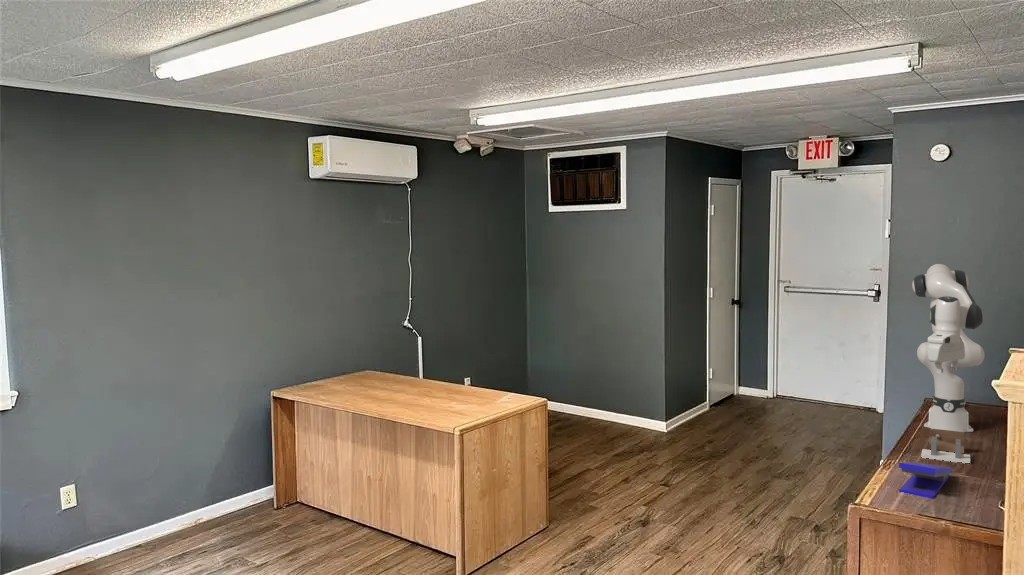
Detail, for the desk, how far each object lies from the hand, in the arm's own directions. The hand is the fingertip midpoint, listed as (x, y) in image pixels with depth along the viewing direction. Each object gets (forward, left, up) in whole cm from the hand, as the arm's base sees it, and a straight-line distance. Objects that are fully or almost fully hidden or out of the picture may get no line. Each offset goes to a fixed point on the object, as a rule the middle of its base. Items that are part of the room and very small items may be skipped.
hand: (946, 372), depth 291 cm
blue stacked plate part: (+52, -5, -32) cm, 61 cm away
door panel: (+2, +1, -31) cm, 31 cm away
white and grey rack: (+14, +1, -31) cm, 34 cm away
